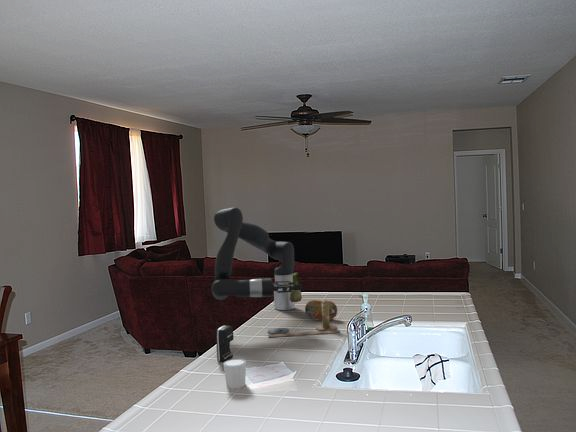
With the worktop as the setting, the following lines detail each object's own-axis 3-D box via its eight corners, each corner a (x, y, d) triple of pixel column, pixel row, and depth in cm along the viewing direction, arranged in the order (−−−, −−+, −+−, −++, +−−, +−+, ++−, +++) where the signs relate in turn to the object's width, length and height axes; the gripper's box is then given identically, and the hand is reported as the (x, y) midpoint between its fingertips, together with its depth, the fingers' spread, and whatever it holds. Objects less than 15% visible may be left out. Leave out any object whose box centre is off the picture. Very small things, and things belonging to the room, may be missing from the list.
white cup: (238, 390, 151) (236, 367, 151) (219, 387, 155) (218, 364, 154) (251, 383, 157) (250, 360, 157) (234, 379, 161) (232, 357, 160)
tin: (305, 318, 234) (304, 300, 233) (308, 316, 237) (307, 298, 236) (335, 321, 227) (335, 302, 226) (338, 319, 230) (337, 300, 229)
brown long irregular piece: (268, 337, 205) (267, 308, 204) (267, 329, 217) (265, 301, 217) (340, 333, 207) (339, 303, 207) (334, 325, 220) (333, 297, 219)
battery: (226, 362, 177) (224, 330, 176) (216, 361, 178) (215, 329, 178) (235, 356, 183) (234, 324, 183) (226, 355, 185) (224, 324, 184)
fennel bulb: (295, 299, 217) (295, 271, 216) (304, 301, 214) (304, 272, 213) (286, 302, 212) (286, 273, 212) (296, 303, 209) (295, 274, 208)
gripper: (261, 281, 204) (303, 279, 206) (259, 275, 219) (299, 273, 220) (261, 300, 205) (303, 298, 206) (260, 293, 219) (299, 291, 221)
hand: (301, 285), depth 213 cm, fingers closed on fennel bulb, 6 cm apart
